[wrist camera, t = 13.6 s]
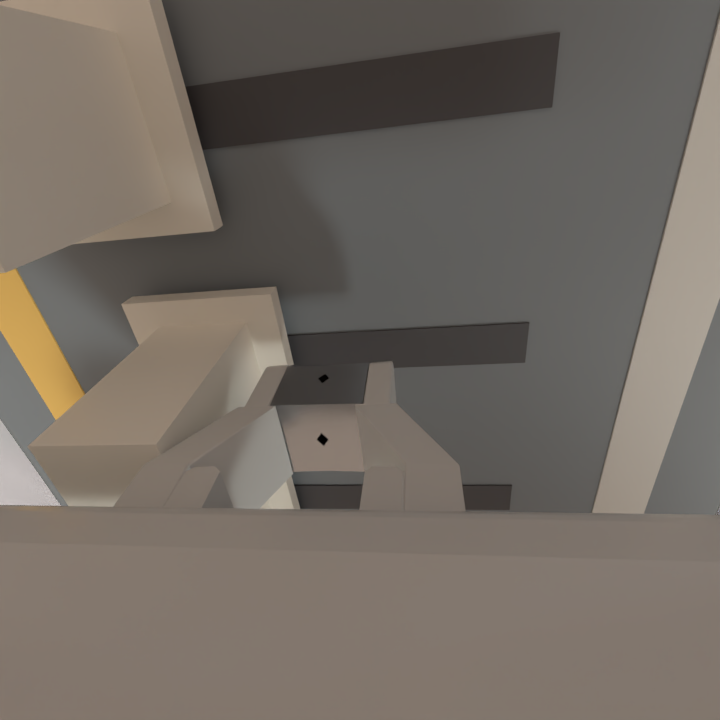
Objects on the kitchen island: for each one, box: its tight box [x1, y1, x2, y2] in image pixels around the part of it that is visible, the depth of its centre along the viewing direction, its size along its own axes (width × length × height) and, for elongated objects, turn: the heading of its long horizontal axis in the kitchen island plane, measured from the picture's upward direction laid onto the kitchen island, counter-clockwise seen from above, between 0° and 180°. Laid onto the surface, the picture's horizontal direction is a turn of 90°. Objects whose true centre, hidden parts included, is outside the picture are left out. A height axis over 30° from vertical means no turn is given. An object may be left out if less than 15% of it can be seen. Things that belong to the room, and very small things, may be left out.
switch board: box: [0, 0, 720, 515], centre depth 13 cm, size 24×18×2 cm
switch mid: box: [27, 287, 294, 507], centre depth 10 cm, size 4×4×5 cm
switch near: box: [0, 0, 223, 273], centre depth 7 cm, size 4×4×5 cm
